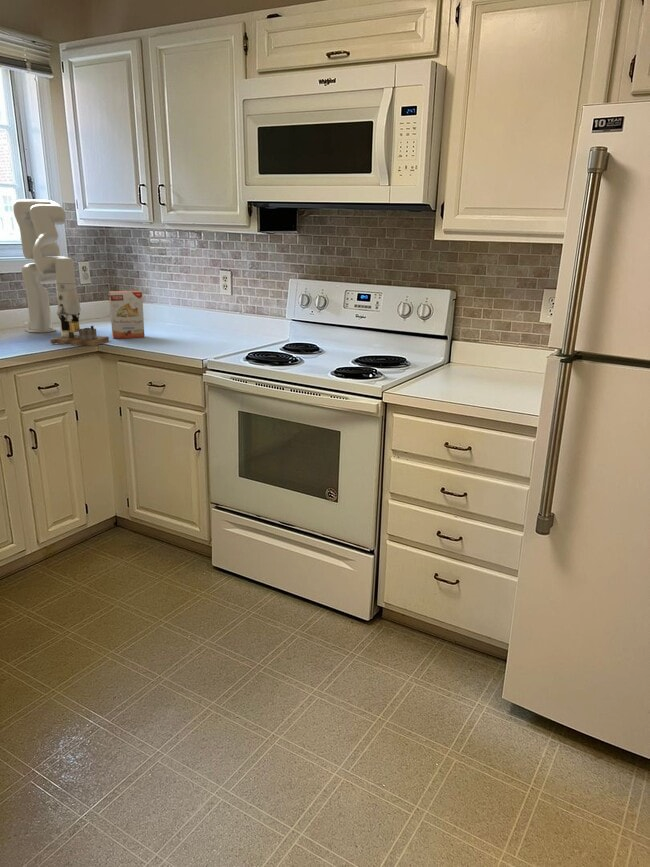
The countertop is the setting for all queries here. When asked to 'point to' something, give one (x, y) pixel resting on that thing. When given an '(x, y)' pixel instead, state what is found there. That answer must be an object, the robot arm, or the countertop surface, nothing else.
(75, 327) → the brass gear
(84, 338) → the gear board
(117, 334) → the cracker box
